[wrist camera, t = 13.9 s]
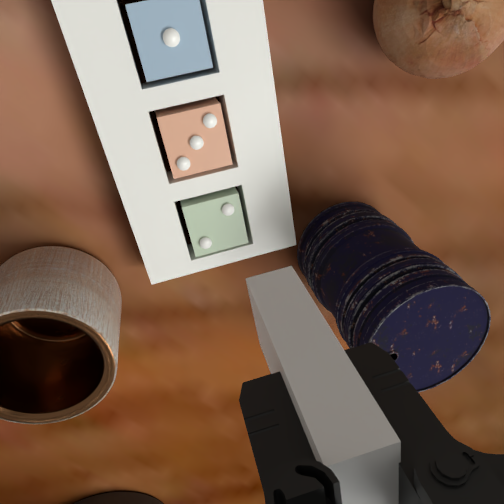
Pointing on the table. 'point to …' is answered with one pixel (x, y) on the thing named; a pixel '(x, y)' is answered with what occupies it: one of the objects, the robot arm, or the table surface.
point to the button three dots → (194, 137)
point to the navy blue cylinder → (392, 293)
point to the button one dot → (169, 37)
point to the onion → (438, 34)
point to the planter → (56, 334)
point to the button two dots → (215, 221)
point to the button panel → (175, 93)
